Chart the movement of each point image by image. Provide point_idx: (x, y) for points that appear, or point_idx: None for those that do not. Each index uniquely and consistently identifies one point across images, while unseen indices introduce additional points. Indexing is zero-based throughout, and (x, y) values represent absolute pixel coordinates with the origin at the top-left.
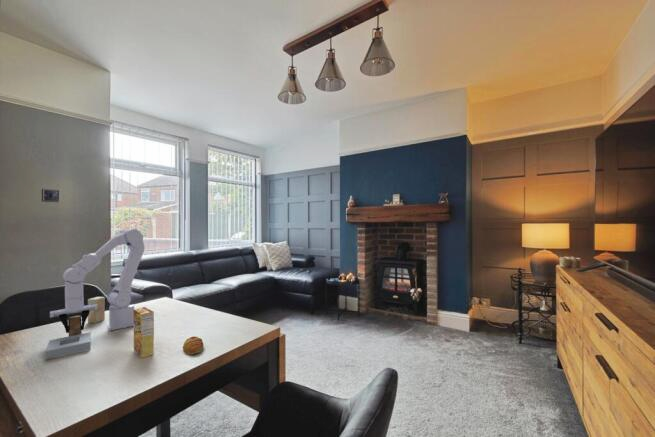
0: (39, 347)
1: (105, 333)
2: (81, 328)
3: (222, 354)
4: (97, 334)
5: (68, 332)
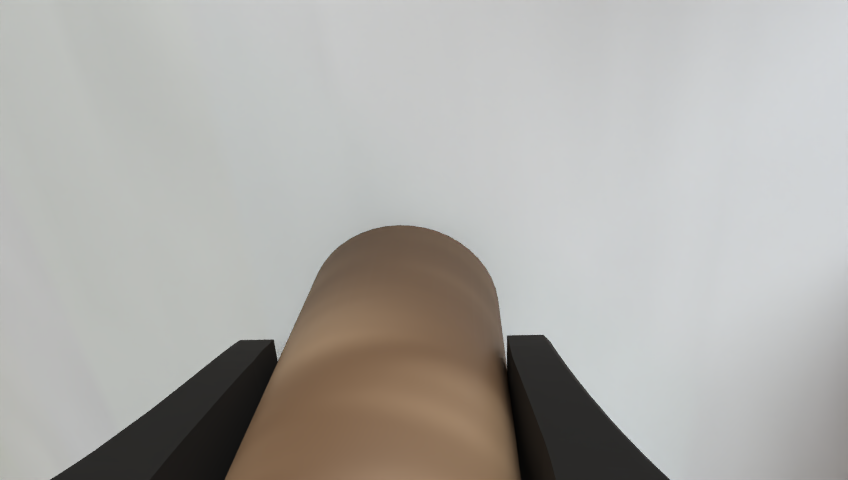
0: (4, 389)
1: (842, 360)
2: None
3: None
4: (727, 329)
5: None
